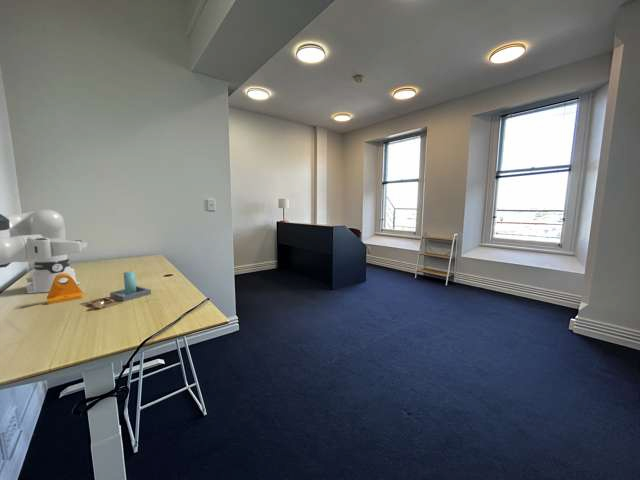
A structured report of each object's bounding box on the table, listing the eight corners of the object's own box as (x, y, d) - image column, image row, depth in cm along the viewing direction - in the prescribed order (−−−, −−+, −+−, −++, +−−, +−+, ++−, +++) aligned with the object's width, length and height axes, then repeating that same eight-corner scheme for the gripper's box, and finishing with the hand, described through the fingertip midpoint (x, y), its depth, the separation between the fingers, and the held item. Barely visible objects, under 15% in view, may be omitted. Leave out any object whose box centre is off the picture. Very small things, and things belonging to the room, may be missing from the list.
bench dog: (93, 308, 100) (92, 302, 99) (102, 306, 102) (102, 300, 102) (97, 310, 98) (96, 303, 98) (106, 307, 101) (105, 301, 101)
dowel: (123, 297, 114) (121, 272, 113) (133, 294, 117) (131, 270, 116) (128, 298, 112) (126, 273, 111) (138, 295, 116) (136, 272, 114)
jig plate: (79, 306, 105) (79, 301, 104) (106, 299, 112) (105, 295, 112) (95, 313, 98) (95, 308, 98) (122, 305, 106) (122, 300, 106)
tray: (110, 299, 113) (110, 292, 112) (138, 292, 122) (137, 285, 122) (123, 304, 107) (123, 296, 107) (151, 296, 117) (150, 289, 117)
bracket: (47, 307, 104) (44, 278, 102) (47, 303, 108) (44, 275, 107) (83, 301, 111) (80, 274, 110) (82, 297, 116) (79, 271, 115)
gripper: (25, 253, 93) (75, 248, 105) (47, 259, 83) (99, 253, 95) (23, 236, 92) (73, 233, 104) (44, 240, 82) (97, 236, 94)
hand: (86, 242), depth 99 cm, fingers open, 8 cm apart
